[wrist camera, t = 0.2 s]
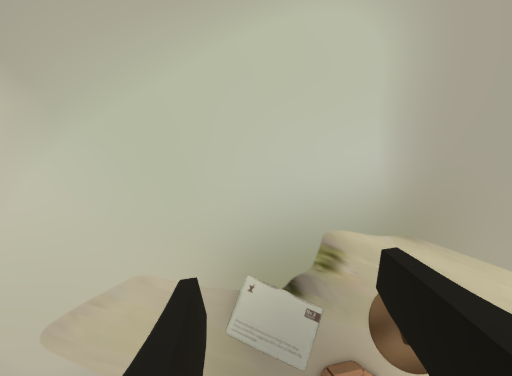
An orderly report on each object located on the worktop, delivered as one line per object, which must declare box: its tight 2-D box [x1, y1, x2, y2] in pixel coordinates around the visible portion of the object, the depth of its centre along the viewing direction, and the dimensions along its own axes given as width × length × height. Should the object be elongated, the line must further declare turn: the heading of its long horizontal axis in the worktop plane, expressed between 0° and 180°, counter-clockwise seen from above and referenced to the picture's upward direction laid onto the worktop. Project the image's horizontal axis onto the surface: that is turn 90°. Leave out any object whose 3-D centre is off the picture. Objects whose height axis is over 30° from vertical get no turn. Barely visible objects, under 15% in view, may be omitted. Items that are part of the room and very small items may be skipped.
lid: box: [369, 294, 427, 374], centre depth 36 cm, size 11×11×5 cm
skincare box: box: [225, 275, 323, 371], centre depth 32 cm, size 8×6×15 cm
